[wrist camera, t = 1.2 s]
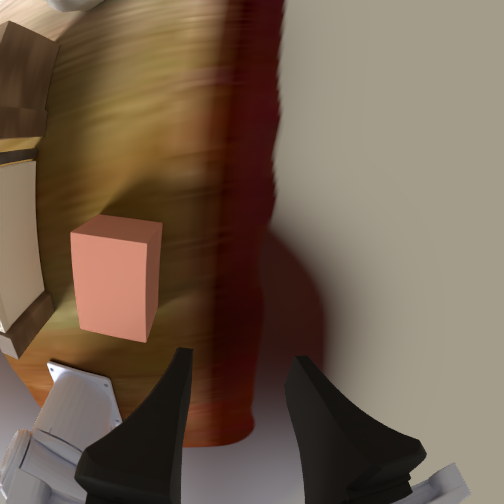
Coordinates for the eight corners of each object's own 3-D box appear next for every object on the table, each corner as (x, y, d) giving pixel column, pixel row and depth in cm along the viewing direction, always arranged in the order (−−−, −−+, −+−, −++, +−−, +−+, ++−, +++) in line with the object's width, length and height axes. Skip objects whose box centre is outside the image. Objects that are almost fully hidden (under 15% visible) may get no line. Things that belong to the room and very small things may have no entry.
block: (158, 307, 21) (146, 342, 17) (101, 297, 20) (80, 328, 16) (163, 222, 18) (147, 243, 14) (99, 213, 18) (70, 232, 13)
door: (44, 290, 19) (5, 333, 13) (36, 287, 19) (-4, 329, 12) (36, 161, 15) (-23, 173, 9) (27, 161, 15) (-31, 174, 9)
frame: (54, 311, 20) (15, 363, 13) (39, 307, 20) (-1, 355, 13) (63, 43, 12) (8, 16, 5) (45, 48, 12) (-11, 26, 5)
